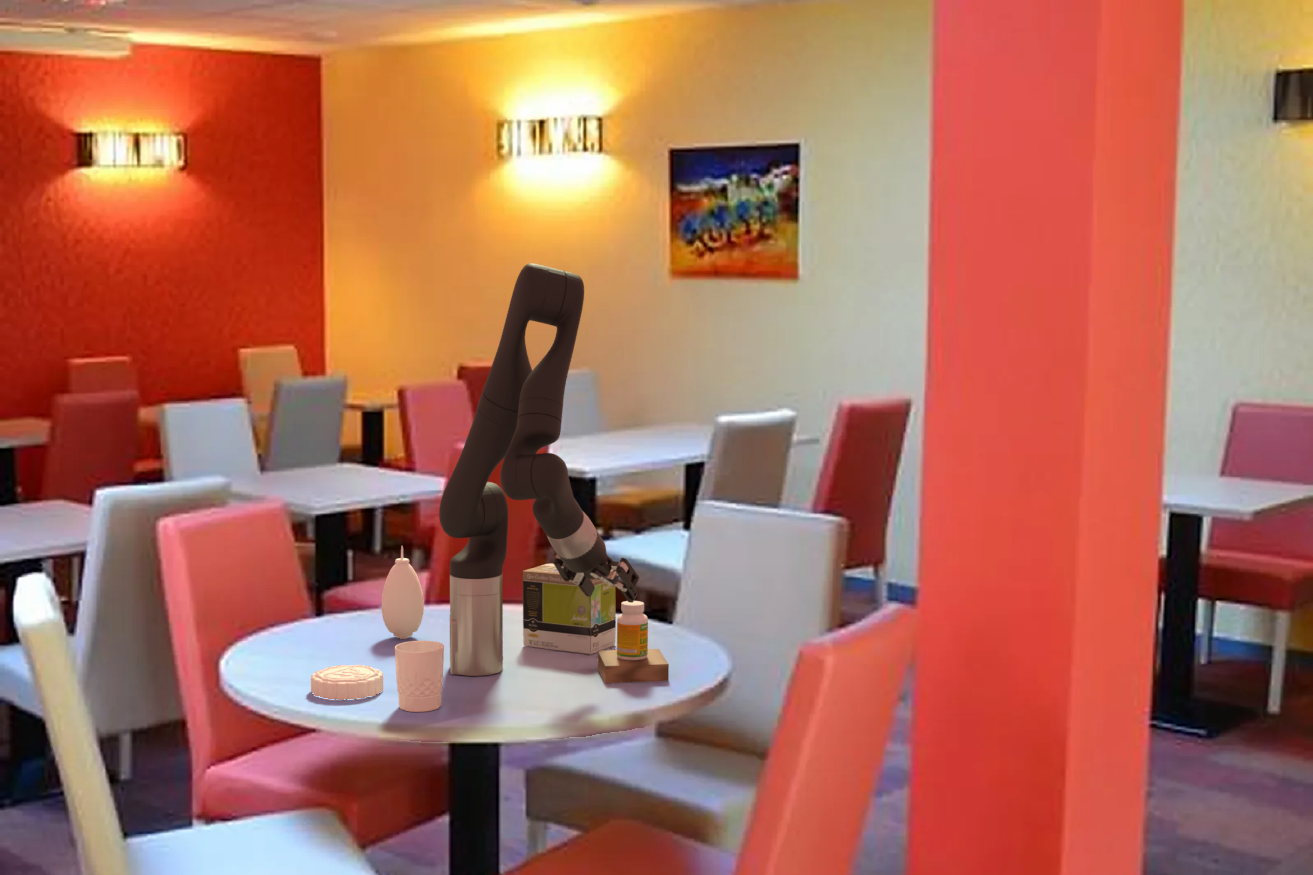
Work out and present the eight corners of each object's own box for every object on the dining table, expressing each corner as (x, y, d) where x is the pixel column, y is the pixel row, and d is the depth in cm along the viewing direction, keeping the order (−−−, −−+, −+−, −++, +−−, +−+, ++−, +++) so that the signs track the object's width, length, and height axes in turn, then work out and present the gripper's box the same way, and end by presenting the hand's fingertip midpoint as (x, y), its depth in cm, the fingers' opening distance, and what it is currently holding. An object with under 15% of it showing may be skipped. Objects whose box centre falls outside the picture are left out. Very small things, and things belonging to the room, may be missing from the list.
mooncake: (346, 706, 257) (346, 684, 257) (295, 694, 264) (295, 673, 264) (398, 690, 267) (398, 669, 267) (348, 679, 274) (347, 659, 273)
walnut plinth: (605, 683, 272) (605, 666, 271) (597, 667, 282) (597, 650, 282) (668, 681, 273) (668, 664, 273) (658, 665, 284) (658, 648, 284)
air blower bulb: (374, 637, 304) (373, 544, 302) (408, 631, 309) (407, 540, 307) (396, 644, 298) (395, 550, 296) (431, 638, 303) (430, 545, 301)
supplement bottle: (644, 662, 274) (644, 607, 273) (613, 660, 275) (614, 605, 274) (650, 654, 279) (651, 600, 278) (620, 652, 280) (621, 598, 279)
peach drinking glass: (446, 700, 261) (446, 640, 260) (441, 713, 253) (441, 652, 252) (398, 700, 260) (398, 640, 259) (392, 713, 252) (391, 652, 251)
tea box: (617, 645, 299) (617, 568, 297) (590, 656, 290) (590, 577, 289) (549, 636, 306) (549, 560, 304) (521, 646, 297) (521, 569, 296)
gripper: (620, 524, 258) (655, 582, 269) (548, 516, 265) (585, 572, 276) (602, 562, 254) (639, 618, 265) (530, 552, 261) (568, 608, 272)
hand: (611, 595), depth 271 cm, fingers open, 8 cm apart
